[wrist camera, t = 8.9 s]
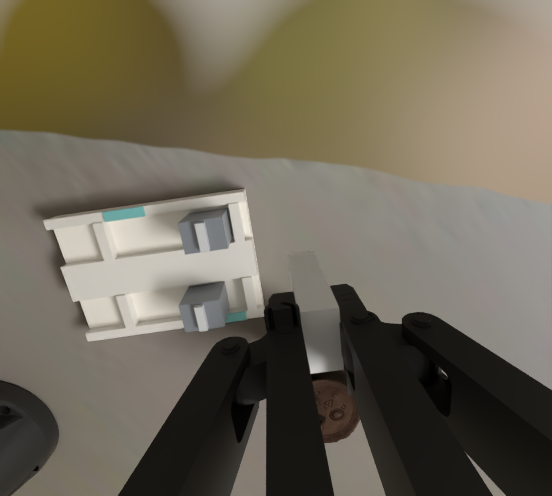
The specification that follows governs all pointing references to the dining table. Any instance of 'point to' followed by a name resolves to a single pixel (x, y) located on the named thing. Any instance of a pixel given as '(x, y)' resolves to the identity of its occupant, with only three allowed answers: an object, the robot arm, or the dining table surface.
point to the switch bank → (153, 264)
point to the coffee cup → (334, 405)
